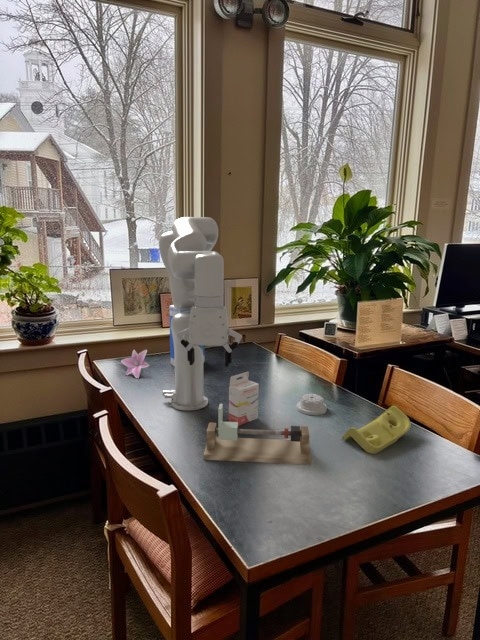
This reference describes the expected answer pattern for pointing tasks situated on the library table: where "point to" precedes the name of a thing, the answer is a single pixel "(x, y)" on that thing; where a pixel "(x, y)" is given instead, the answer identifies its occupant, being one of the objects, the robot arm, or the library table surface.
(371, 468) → the library table surface
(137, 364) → the lily
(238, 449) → the lead screw slide
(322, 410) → the mechanical component
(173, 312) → the string lights box
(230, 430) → the pale green slide carriage
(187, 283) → the robot arm
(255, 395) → the ink cartridge box
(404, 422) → the plastic component
